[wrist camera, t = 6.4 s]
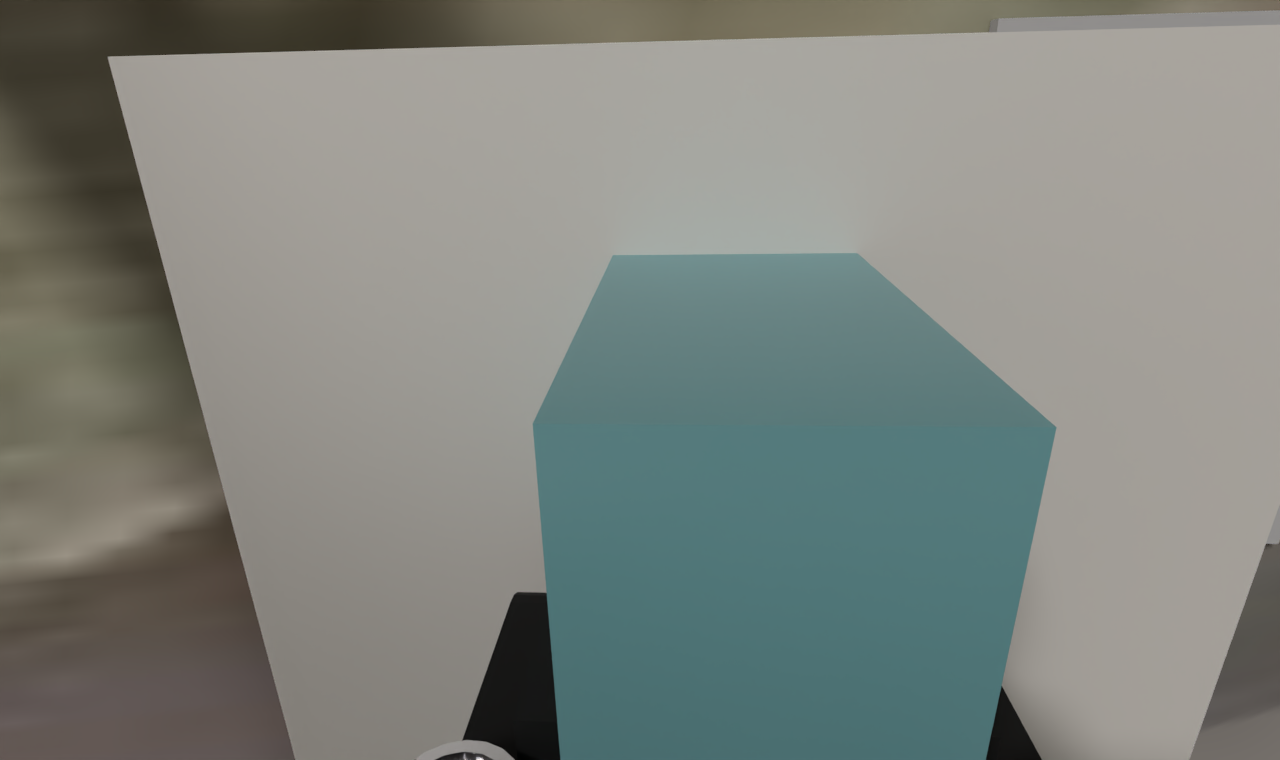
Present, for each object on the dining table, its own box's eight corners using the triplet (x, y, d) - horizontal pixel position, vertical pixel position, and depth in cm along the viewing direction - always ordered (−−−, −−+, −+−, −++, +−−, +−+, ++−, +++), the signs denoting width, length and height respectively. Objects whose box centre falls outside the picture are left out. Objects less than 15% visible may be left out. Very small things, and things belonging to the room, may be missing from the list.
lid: (221, 65, 10) (-618, -1, 4) (1286, 37, 9) (2736, -119, 3) (377, 792, 16) (149, 1300, 9) (1066, 819, 15) (1379, 1411, 8)
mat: (990, 20, 22) (998, 18, 21) (1450, 7, 21) (1471, 5, 20) (918, 528, 28) (923, 537, 27) (1265, 534, 27) (1278, 543, 27)
